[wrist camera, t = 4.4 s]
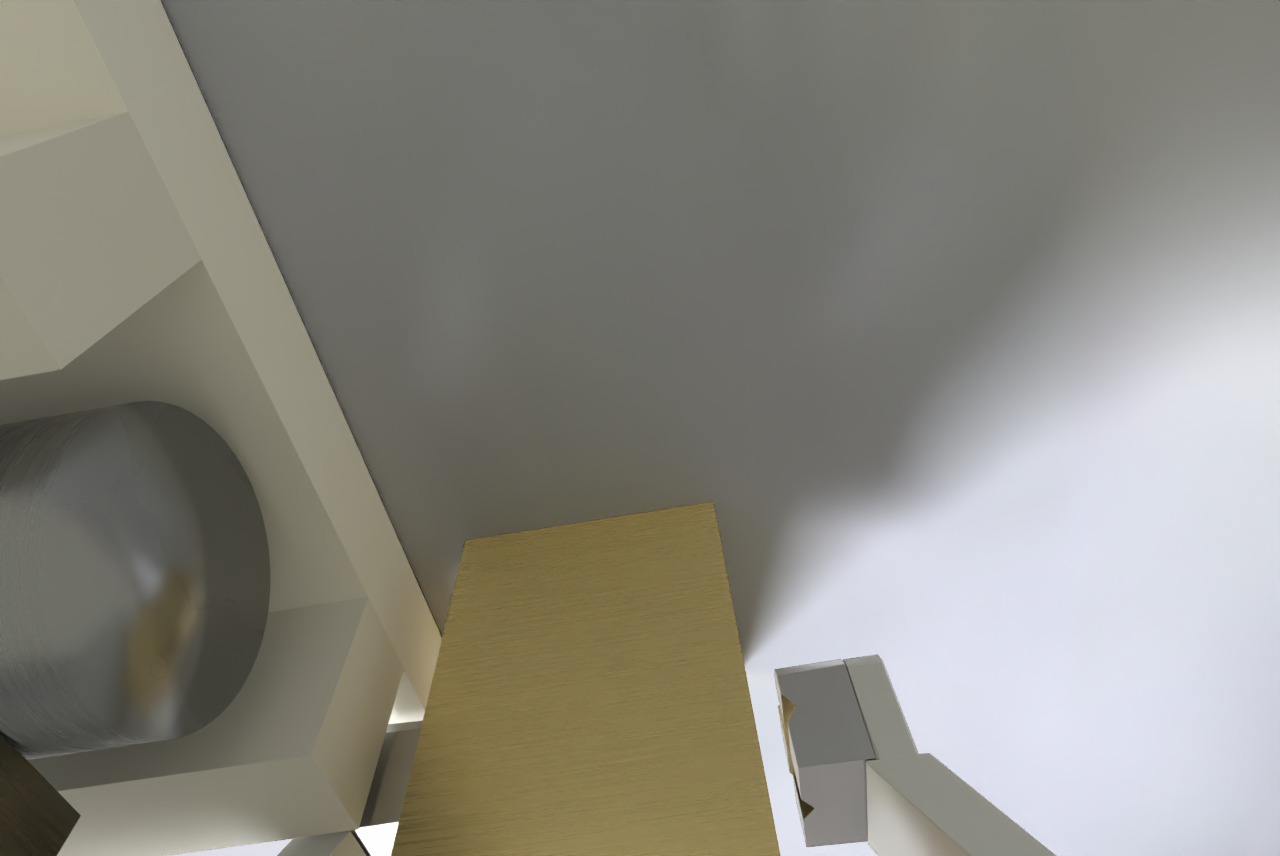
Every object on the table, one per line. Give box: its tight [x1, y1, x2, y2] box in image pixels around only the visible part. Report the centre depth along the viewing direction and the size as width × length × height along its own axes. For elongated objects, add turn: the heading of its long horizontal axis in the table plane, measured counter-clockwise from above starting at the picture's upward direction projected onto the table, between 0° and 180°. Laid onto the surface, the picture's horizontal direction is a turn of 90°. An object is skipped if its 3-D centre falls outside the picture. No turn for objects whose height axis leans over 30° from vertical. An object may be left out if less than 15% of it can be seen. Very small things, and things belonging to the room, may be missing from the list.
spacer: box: [391, 502, 780, 856], centre depth 11 cm, size 4×4×6 cm
